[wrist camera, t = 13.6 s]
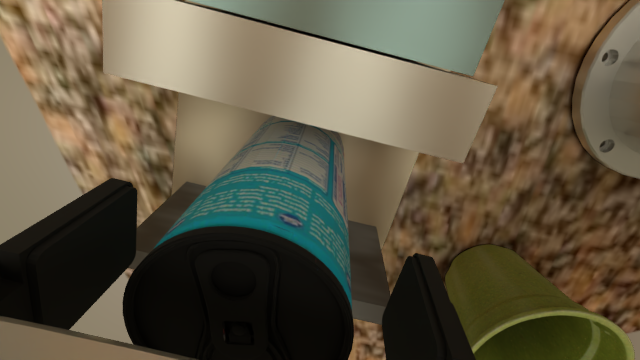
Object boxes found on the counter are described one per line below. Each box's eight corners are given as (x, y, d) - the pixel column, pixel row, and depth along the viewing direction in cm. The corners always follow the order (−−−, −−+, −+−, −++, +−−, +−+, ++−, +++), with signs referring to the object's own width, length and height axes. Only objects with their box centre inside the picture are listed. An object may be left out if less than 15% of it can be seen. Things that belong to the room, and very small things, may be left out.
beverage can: (250, 181, 23) (124, 387, 9) (262, 97, 21) (117, 208, 7) (333, 198, 23) (326, 424, 10) (353, 117, 21) (383, 263, 7)
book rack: (492, -59, 18) (685, -179, 8) (369, 269, 27) (387, 406, 17) (204, -142, 17) (21, -390, 7) (175, 224, 26) (75, 340, 16)
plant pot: (561, 290, 27) (653, 396, 19) (453, 333, 30) (495, 442, 22) (519, 204, 24) (608, 284, 16) (403, 258, 27) (431, 352, 19)
